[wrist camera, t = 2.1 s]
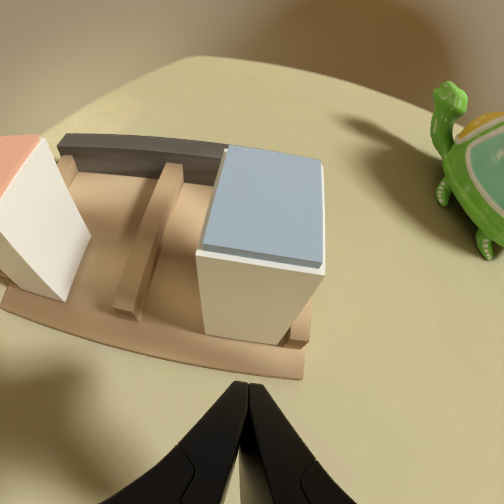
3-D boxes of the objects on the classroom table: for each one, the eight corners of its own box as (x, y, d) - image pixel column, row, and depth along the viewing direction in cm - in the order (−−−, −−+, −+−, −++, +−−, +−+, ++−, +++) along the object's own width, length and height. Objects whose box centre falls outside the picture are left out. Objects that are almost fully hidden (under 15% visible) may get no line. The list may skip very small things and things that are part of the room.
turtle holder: (436, 134, 33) (474, 63, 23) (527, 240, 26) (586, 178, 15) (380, 148, 29) (423, 51, 19) (494, 287, 21) (582, 211, 11)
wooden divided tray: (300, 380, 17) (318, 370, 14) (4, 310, 16) (-23, 289, 13) (309, 191, 24) (320, 159, 21) (77, 162, 24) (66, 132, 21)
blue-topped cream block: (276, 345, 17) (328, 269, 9) (205, 334, 17) (194, 248, 9) (284, 267, 19) (325, 158, 12) (220, 256, 19) (225, 140, 12)
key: (65, 302, 16) (-14, 213, 9) (21, 289, 16) (-56, 206, 9) (91, 235, 19) (42, 131, 11) (48, 228, 19) (-5, 134, 11)
